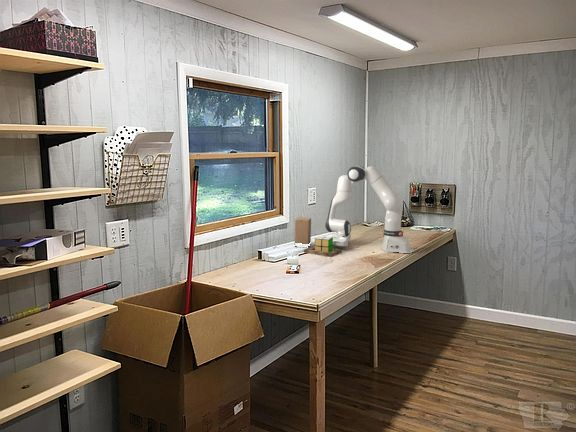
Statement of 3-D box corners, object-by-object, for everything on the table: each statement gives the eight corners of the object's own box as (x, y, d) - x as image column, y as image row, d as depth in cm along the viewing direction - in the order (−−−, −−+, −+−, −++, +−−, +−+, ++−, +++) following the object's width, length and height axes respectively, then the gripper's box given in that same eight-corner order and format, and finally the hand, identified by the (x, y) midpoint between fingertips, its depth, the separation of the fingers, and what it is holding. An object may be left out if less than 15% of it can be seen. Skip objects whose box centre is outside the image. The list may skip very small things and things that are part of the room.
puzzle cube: (318, 250, 348) (319, 235, 346) (332, 251, 345) (333, 237, 343) (314, 253, 339) (314, 238, 337) (328, 254, 335) (329, 239, 334)
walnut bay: (341, 252, 342) (341, 249, 342) (330, 256, 328) (330, 253, 328) (316, 248, 353) (316, 245, 353) (303, 252, 339) (303, 249, 338)
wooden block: (308, 248, 353) (309, 220, 350) (294, 247, 355) (294, 219, 352) (310, 245, 363) (311, 217, 359) (296, 244, 364) (297, 217, 361)
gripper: (324, 234, 362) (314, 237, 351) (350, 237, 351) (341, 240, 340) (323, 242, 363) (314, 246, 351) (349, 246, 352) (340, 249, 341)
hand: (327, 243), depth 346 cm, fingers closed
